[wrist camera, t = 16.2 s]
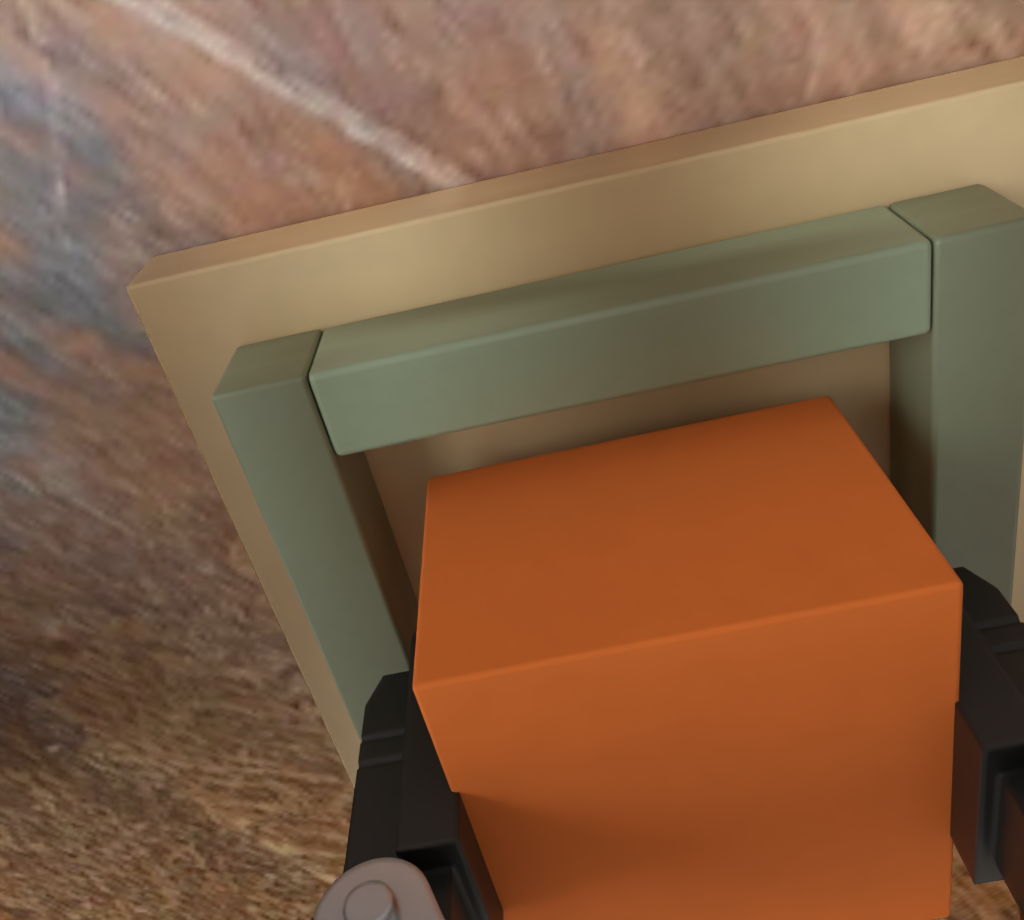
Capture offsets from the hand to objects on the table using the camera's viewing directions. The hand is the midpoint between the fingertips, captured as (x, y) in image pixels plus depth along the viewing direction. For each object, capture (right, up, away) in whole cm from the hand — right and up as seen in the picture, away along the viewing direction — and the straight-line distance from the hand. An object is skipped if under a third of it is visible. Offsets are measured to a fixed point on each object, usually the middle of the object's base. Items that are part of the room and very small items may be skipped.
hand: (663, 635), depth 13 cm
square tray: (0, +1, +3) cm, 3 cm away
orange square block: (0, 0, +1) cm, 1 cm away
